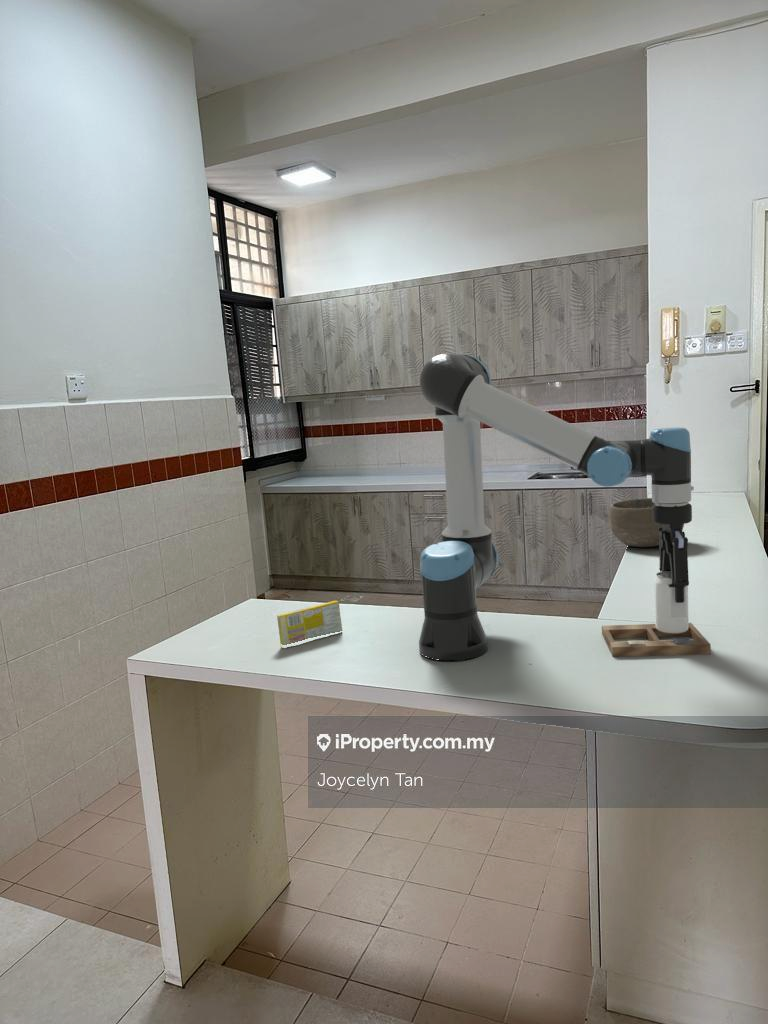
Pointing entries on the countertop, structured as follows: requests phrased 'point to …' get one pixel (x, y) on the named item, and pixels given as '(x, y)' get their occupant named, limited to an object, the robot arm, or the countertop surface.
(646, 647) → the socket board
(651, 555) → the countertop surface
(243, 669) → the countertop surface
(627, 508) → the bowl
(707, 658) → the countertop surface
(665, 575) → the can
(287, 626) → the candy box
